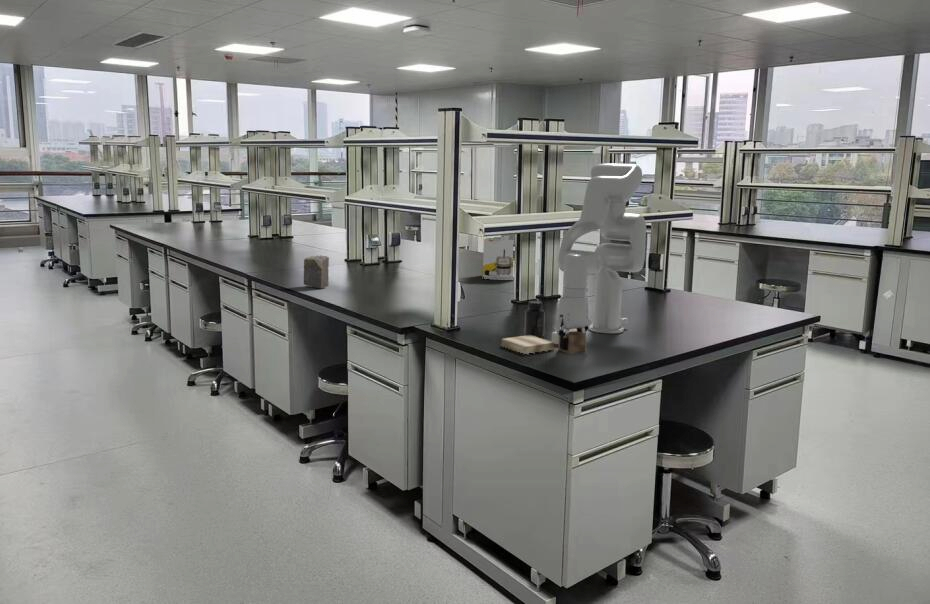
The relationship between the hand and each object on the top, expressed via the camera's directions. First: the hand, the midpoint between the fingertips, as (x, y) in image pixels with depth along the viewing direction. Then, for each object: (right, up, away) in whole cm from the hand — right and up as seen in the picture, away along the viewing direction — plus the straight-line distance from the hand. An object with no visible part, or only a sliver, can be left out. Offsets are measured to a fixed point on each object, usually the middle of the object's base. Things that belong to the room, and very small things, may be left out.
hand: (571, 347), depth 225 cm
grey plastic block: (0, 0, +10) cm, 10 cm away
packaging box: (-17, +27, +148) cm, 151 cm away
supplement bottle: (-10, +3, +20) cm, 22 cm away
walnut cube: (0, -1, 0) cm, 1 cm away
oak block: (-14, -1, +3) cm, 14 cm away
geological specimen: (-104, +21, +106) cm, 150 cm away
